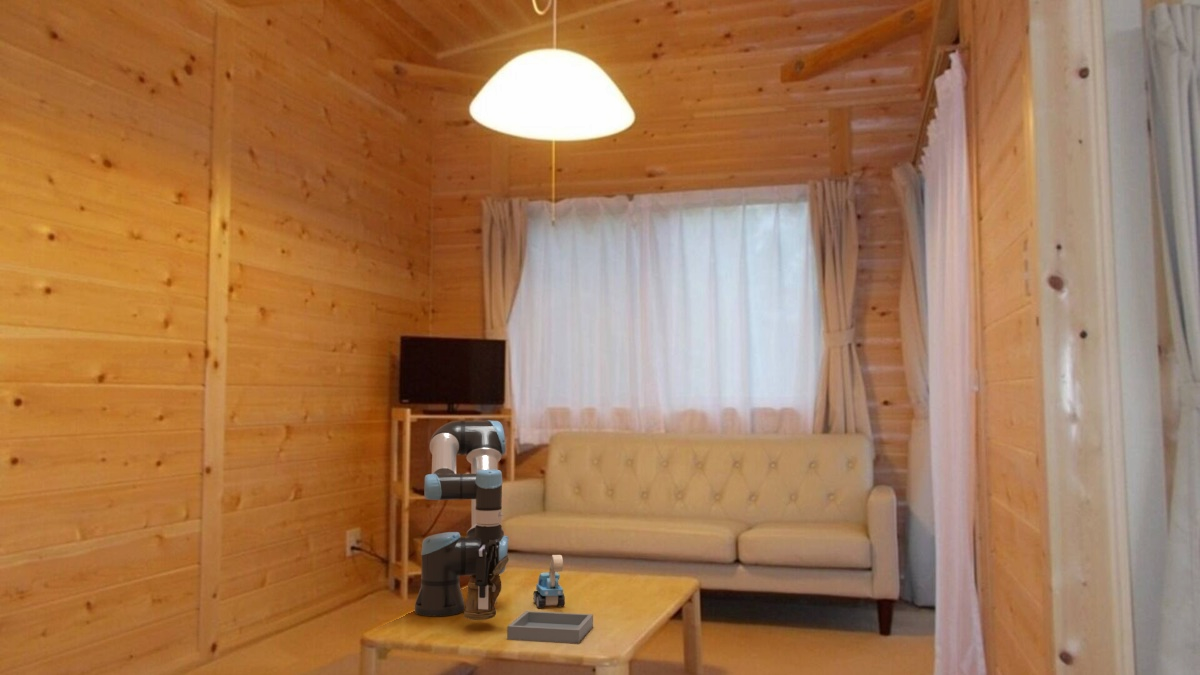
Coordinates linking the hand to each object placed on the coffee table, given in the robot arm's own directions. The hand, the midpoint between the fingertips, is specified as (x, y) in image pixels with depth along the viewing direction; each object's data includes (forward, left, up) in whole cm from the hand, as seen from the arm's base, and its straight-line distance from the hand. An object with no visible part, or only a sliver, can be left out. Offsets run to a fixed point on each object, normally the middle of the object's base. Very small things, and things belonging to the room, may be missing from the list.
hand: (487, 605), depth 254 cm
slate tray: (+19, -1, -6) cm, 20 cm away
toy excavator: (+11, +29, -7) cm, 31 cm away
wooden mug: (0, 0, -3) cm, 3 cm away
